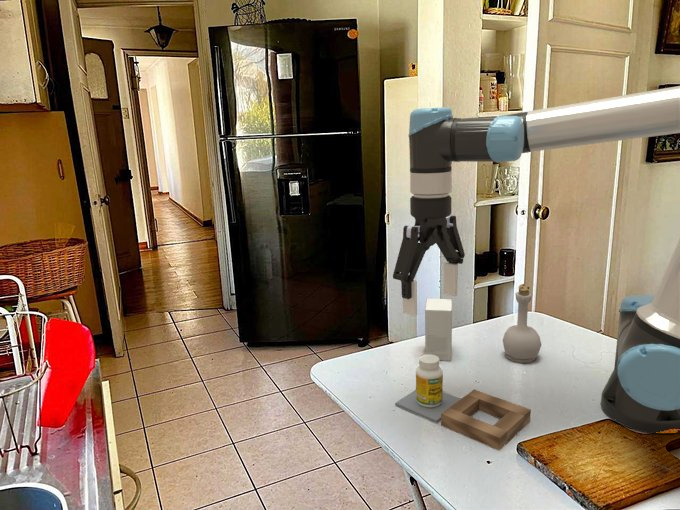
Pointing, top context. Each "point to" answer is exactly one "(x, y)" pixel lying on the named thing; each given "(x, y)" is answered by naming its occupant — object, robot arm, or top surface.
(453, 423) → the socket block
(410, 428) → the top surface
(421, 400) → the supplement bottle
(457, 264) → the robot arm
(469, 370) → the top surface
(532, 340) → the potion bottle
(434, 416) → the rest mat
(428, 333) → the small box
